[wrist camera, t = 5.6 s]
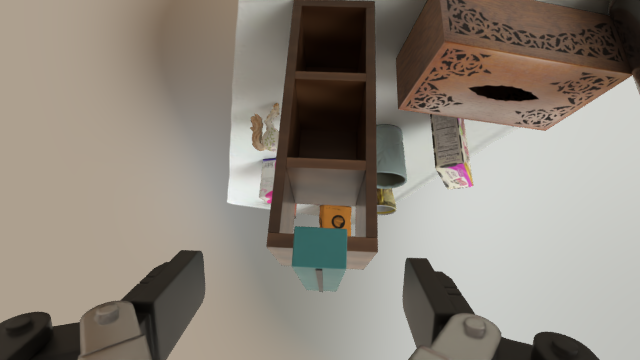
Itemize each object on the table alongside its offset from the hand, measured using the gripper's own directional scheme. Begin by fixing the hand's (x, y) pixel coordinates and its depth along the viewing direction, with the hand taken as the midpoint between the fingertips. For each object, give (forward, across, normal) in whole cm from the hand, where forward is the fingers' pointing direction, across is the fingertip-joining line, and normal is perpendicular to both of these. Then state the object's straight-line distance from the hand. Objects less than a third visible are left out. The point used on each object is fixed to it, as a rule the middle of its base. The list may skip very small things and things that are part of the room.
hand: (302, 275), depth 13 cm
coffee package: (+115, -3, +34) cm, 120 cm away
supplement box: (+84, +15, +11) cm, 86 cm away
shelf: (+45, -1, -16) cm, 48 cm away
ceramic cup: (+90, -16, +17) cm, 93 cm away
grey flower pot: (+69, -13, +1) cm, 70 cm away
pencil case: (+21, 0, +9) cm, 23 cm away
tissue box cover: (+44, -26, -16) cm, 54 cm away
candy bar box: (+58, -24, -7) cm, 63 cm away
